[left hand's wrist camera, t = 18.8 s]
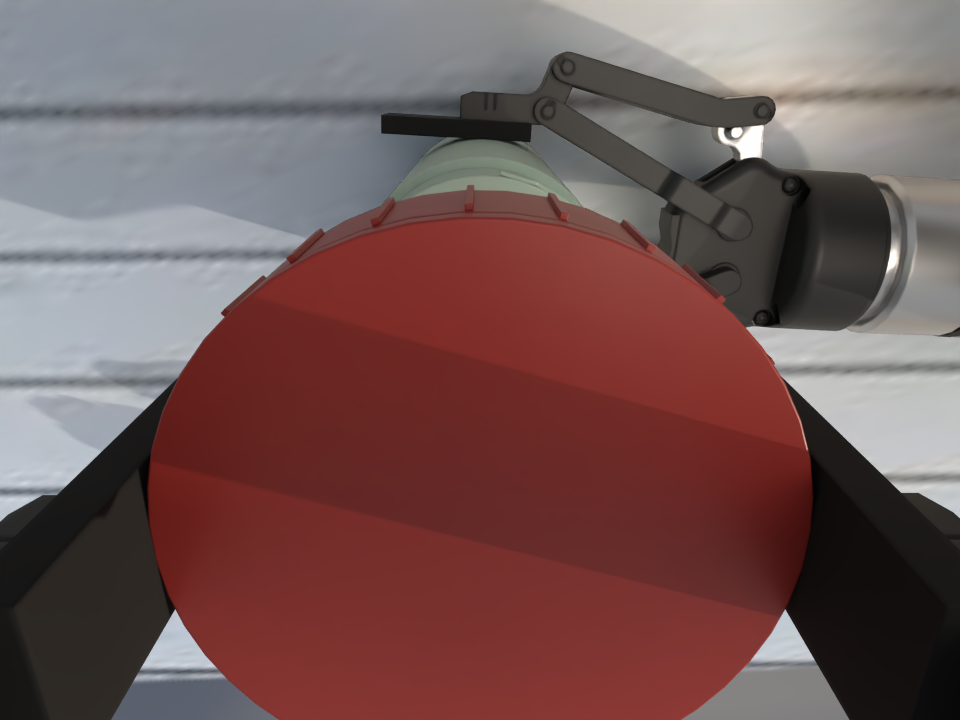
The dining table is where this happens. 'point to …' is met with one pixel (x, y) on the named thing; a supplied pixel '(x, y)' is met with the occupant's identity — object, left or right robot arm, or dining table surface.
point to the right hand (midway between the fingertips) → (385, 227)
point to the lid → (480, 474)
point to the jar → (481, 170)
